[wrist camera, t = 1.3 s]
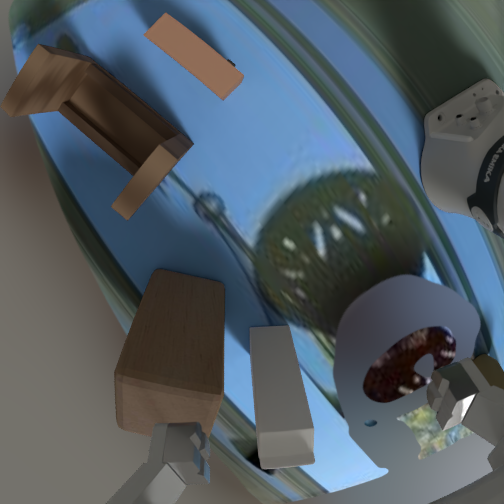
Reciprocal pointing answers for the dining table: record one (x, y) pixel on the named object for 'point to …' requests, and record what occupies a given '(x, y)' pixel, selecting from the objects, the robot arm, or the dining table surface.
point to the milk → (279, 400)
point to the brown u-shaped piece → (100, 117)
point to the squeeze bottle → (490, 370)
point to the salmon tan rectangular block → (195, 56)
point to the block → (173, 355)
